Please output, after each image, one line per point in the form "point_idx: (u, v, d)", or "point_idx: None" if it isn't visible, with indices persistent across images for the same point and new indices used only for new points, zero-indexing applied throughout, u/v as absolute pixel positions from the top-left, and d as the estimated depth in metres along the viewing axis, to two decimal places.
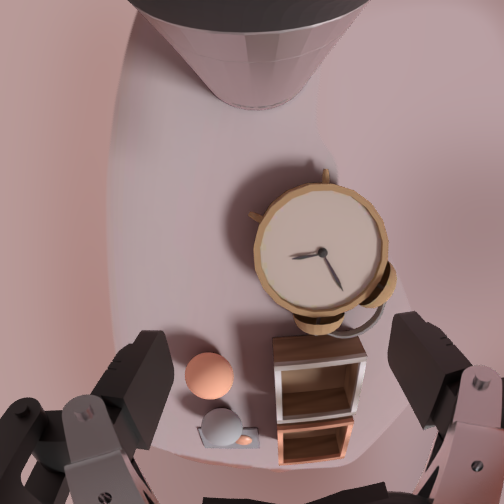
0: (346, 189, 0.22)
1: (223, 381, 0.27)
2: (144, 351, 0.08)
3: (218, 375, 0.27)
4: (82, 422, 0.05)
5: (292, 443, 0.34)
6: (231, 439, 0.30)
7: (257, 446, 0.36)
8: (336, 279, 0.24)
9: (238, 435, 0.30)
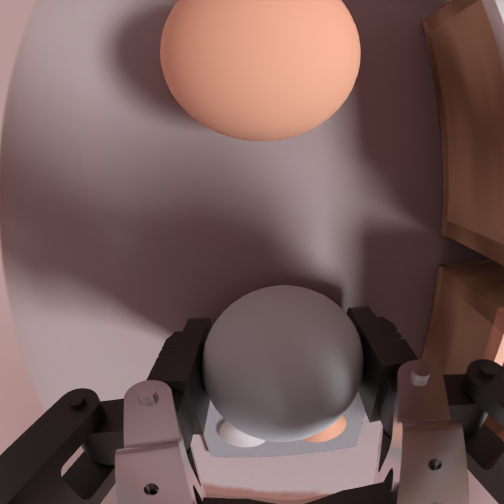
0: None
1: None
2: (197, 337, 0.09)
3: None
4: (150, 407, 0.06)
5: None
6: (340, 402, 0.07)
7: (352, 442, 0.13)
8: None
9: (359, 384, 0.08)
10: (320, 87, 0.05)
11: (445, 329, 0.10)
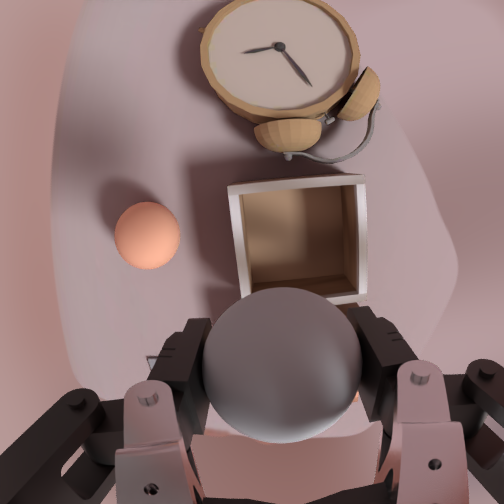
0: None
1: (160, 227, 0.20)
2: (197, 337, 0.09)
3: (152, 217, 0.19)
4: (150, 407, 0.06)
5: None
6: (338, 404, 0.07)
7: None
8: (300, 72, 0.17)
9: (357, 385, 0.08)
10: (156, 260, 0.20)
11: None
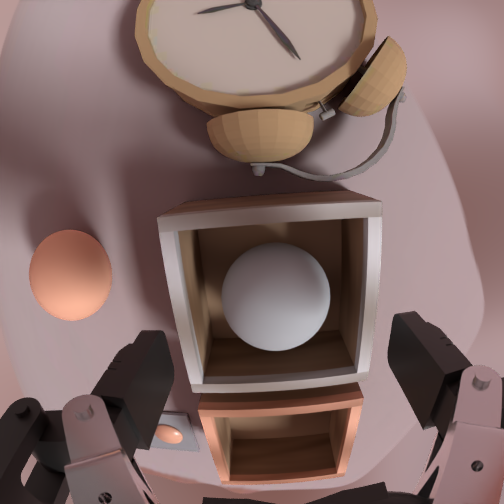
0: None
1: (76, 271, 0.12)
2: (144, 351, 0.08)
3: (66, 256, 0.12)
4: (82, 422, 0.05)
5: (250, 447, 0.19)
6: (312, 312, 0.12)
7: (195, 448, 0.21)
8: (283, 38, 0.10)
9: (326, 306, 0.12)
10: (77, 314, 0.13)
11: None
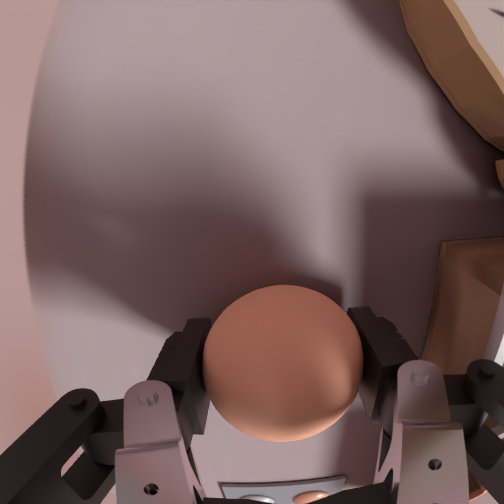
0: None
1: (353, 373, 0.07)
2: (197, 337, 0.09)
3: (337, 351, 0.07)
4: (150, 407, 0.06)
5: None
6: None
7: None
8: None
9: None
10: None
11: None
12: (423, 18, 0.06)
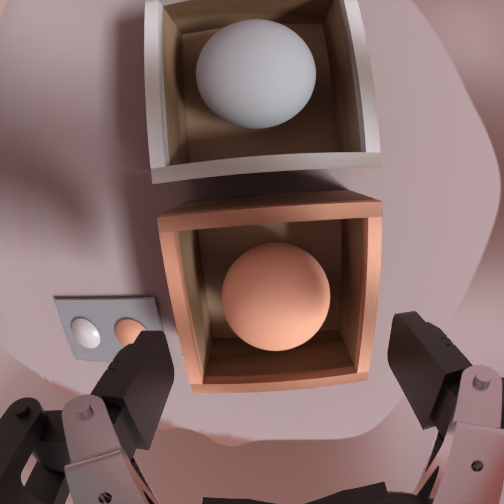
0: None
1: (319, 294, 0.12)
2: (144, 351, 0.08)
3: (308, 277, 0.12)
4: (82, 422, 0.05)
5: (235, 346, 0.17)
6: (290, 51, 0.09)
7: None
8: None
9: (309, 60, 0.10)
10: (303, 342, 0.13)
11: None
12: None
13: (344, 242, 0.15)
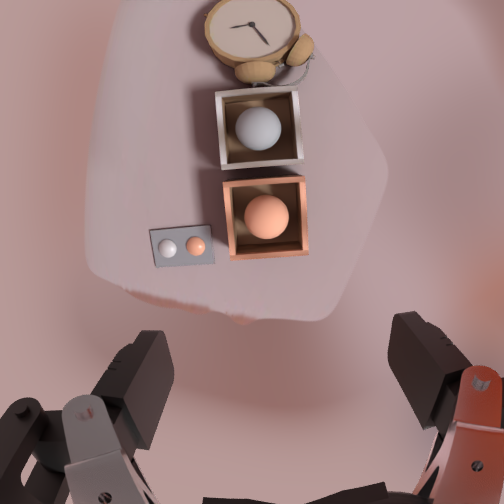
0: None
1: (282, 212, 0.32)
2: (144, 351, 0.08)
3: (277, 205, 0.32)
4: (82, 422, 0.05)
5: (248, 246, 0.37)
6: (270, 123, 0.29)
7: (212, 260, 0.38)
8: (263, 38, 0.28)
9: (277, 125, 0.30)
10: (277, 233, 0.33)
11: None
12: None
13: (296, 196, 0.35)
